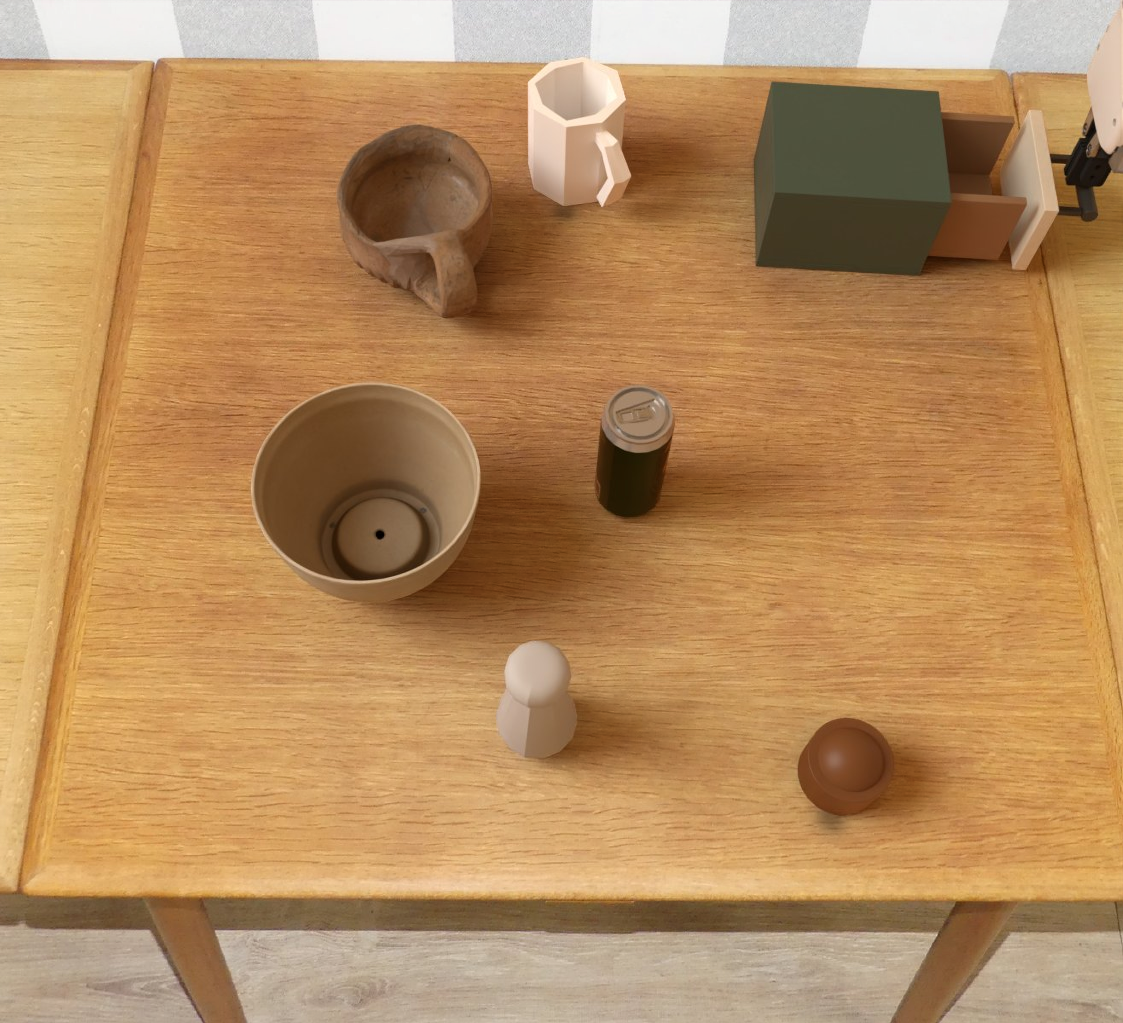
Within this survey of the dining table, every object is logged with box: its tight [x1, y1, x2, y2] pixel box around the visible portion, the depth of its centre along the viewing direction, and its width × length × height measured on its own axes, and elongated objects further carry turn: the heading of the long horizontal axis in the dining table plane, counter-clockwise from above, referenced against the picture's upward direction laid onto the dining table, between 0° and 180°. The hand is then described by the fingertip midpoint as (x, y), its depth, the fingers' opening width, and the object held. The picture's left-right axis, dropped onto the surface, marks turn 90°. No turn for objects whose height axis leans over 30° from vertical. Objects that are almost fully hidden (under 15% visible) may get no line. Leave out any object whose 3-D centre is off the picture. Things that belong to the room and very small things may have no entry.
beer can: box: [594, 384, 676, 519], centre depth 93 cm, size 5×5×12 cm
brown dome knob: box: [797, 717, 895, 816], centre depth 86 cm, size 6×6×5 cm
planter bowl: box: [250, 381, 482, 604], centre depth 91 cm, size 16×16×11 cm
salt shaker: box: [495, 640, 579, 760], centre depth 83 cm, size 6×6×13 cm
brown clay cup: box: [336, 124, 494, 319], centre depth 105 cm, size 18×14×10 cm
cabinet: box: [753, 81, 952, 277], centre depth 108 cm, size 15×13×10 cm
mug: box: [527, 56, 632, 208], centre depth 109 cm, size 12×9×10 cm
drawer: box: [927, 109, 1099, 271], centre depth 108 cm, size 18×11×8 cm, turn 87°
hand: (1081, 179), depth 106 cm, fingers closed
